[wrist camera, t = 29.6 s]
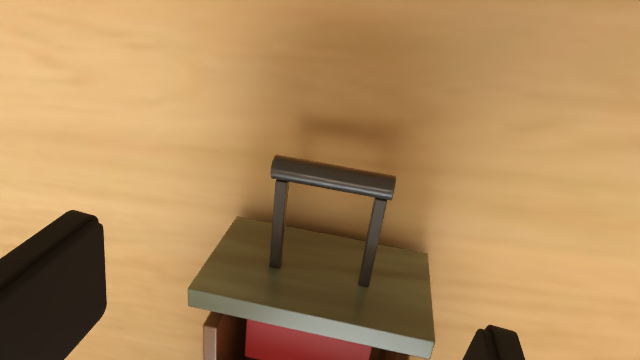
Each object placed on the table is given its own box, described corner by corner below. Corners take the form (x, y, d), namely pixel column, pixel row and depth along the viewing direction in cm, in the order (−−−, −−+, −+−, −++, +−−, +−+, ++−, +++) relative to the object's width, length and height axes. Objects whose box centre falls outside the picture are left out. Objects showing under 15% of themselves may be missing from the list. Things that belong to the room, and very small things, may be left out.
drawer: (240, 119, 25) (183, 170, 19) (454, 156, 24) (473, 224, 17) (231, 369, 35) (192, 460, 28) (385, 405, 33) (381, 510, 27)
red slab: (263, 273, 28) (246, 308, 25) (378, 297, 28) (374, 336, 25) (260, 318, 30) (244, 356, 27) (367, 342, 29) (363, 384, 26)
